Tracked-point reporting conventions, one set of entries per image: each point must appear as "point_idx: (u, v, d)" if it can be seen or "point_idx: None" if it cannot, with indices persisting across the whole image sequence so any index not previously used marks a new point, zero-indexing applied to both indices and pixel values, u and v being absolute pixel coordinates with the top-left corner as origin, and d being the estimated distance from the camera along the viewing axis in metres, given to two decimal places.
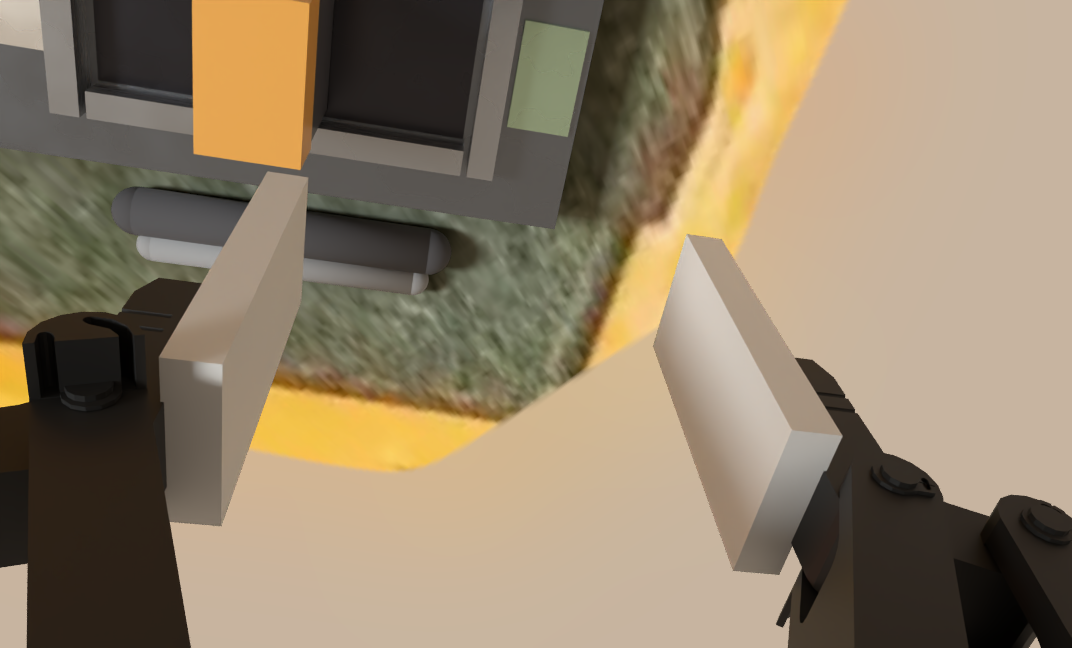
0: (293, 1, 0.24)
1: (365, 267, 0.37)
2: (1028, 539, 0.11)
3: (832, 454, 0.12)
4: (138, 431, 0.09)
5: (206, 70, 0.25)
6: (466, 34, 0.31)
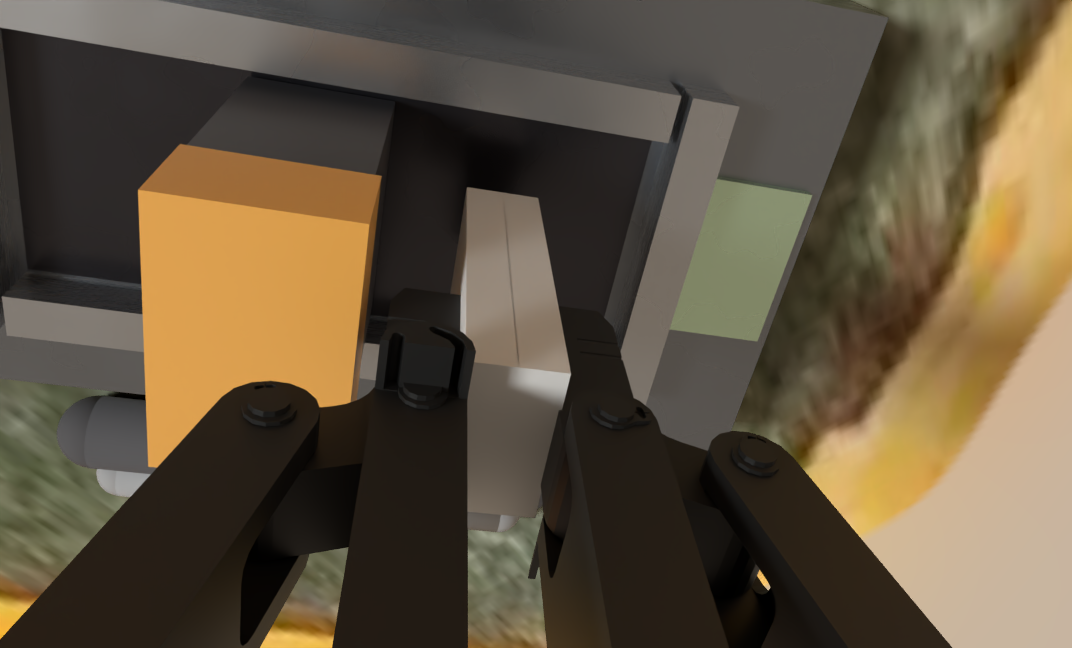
0: (338, 221, 0.12)
1: None
2: (742, 479, 0.11)
3: (565, 393, 0.12)
4: (454, 436, 0.10)
5: (170, 337, 0.13)
6: (616, 197, 0.19)
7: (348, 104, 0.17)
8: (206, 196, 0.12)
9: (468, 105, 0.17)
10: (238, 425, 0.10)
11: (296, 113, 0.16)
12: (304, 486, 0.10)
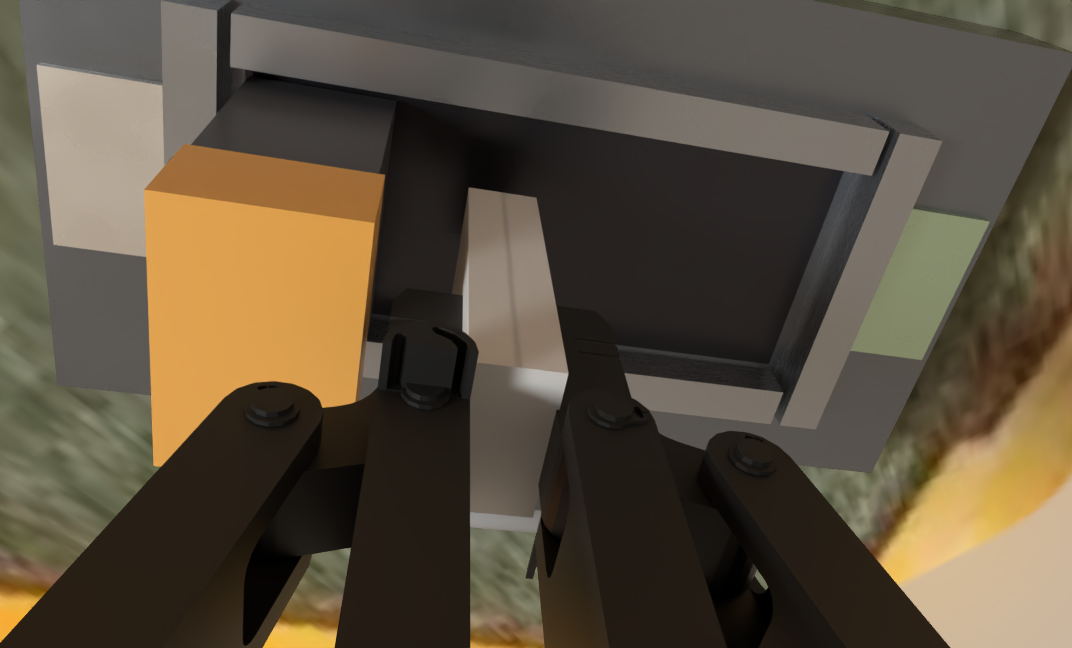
0: (343, 220, 0.12)
1: None
2: (740, 478, 0.11)
3: (562, 392, 0.12)
4: (457, 436, 0.10)
5: (175, 337, 0.13)
6: (803, 225, 0.20)
7: (349, 103, 0.17)
8: (211, 195, 0.12)
9: (689, 141, 0.18)
10: (241, 425, 0.10)
11: (298, 113, 0.16)
12: (307, 486, 0.10)
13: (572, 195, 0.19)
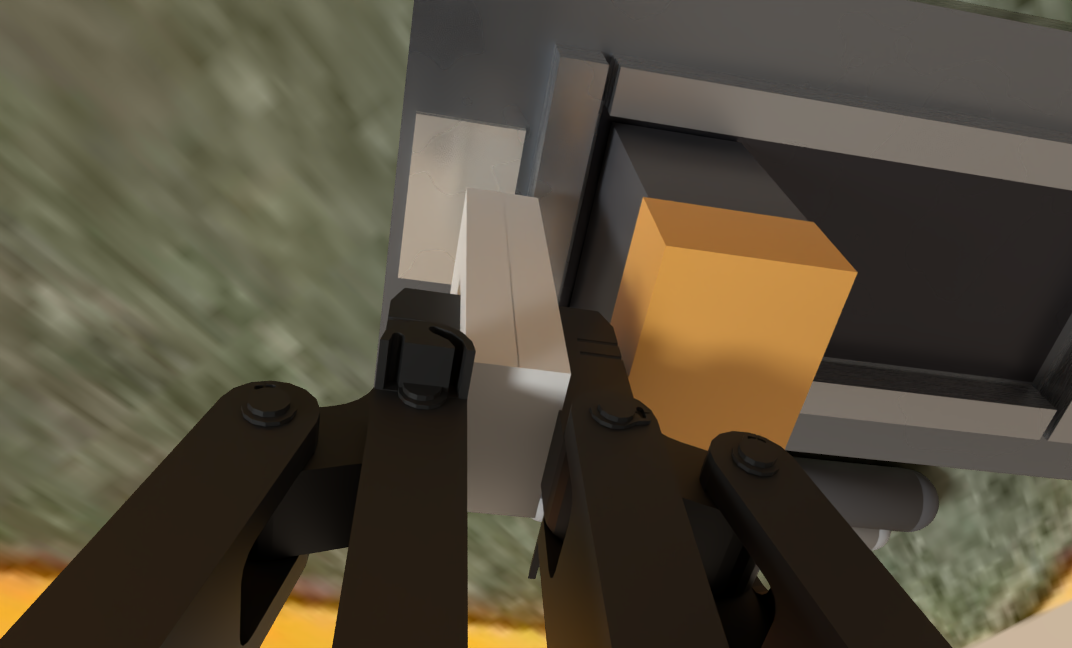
0: (831, 270, 0.13)
1: None
2: (743, 479, 0.11)
3: (565, 393, 0.12)
4: (454, 435, 0.10)
5: (652, 375, 0.14)
6: None
7: (712, 148, 0.18)
8: (718, 249, 0.13)
9: (1015, 177, 0.19)
10: (237, 424, 0.10)
11: (686, 159, 0.17)
12: (304, 486, 0.10)
13: (878, 226, 0.21)
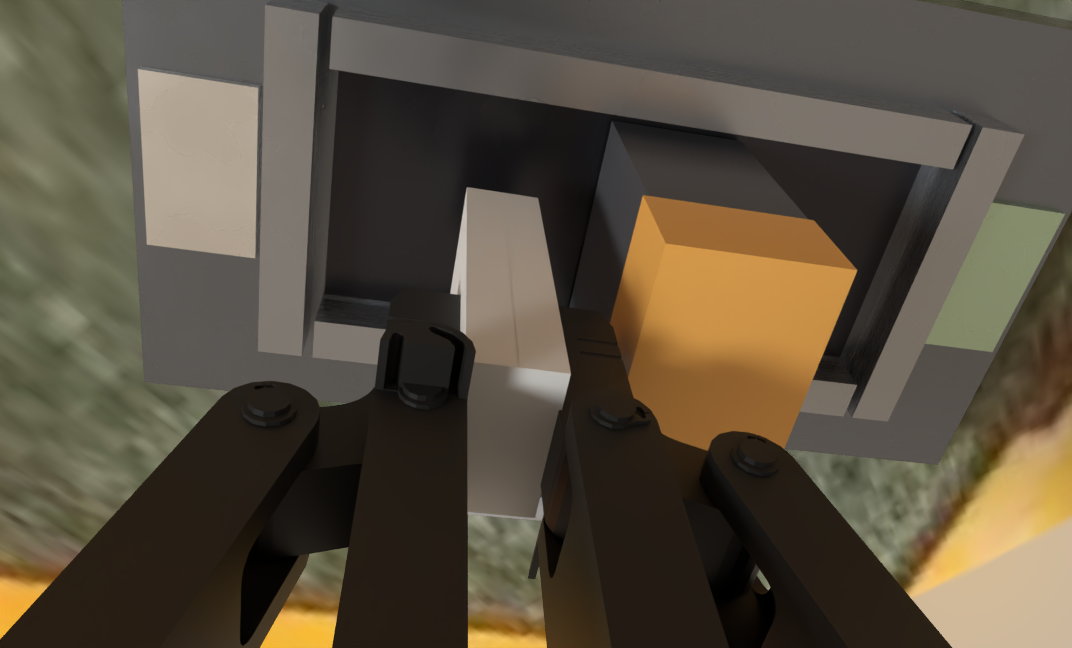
0: (831, 268, 0.13)
1: None
2: (742, 479, 0.11)
3: (565, 393, 0.12)
4: (454, 435, 0.10)
5: (652, 373, 0.14)
6: (879, 219, 0.20)
7: (712, 146, 0.18)
8: (717, 247, 0.13)
9: (774, 137, 0.18)
10: (238, 425, 0.10)
11: (686, 158, 0.17)
12: (304, 486, 0.10)
13: None
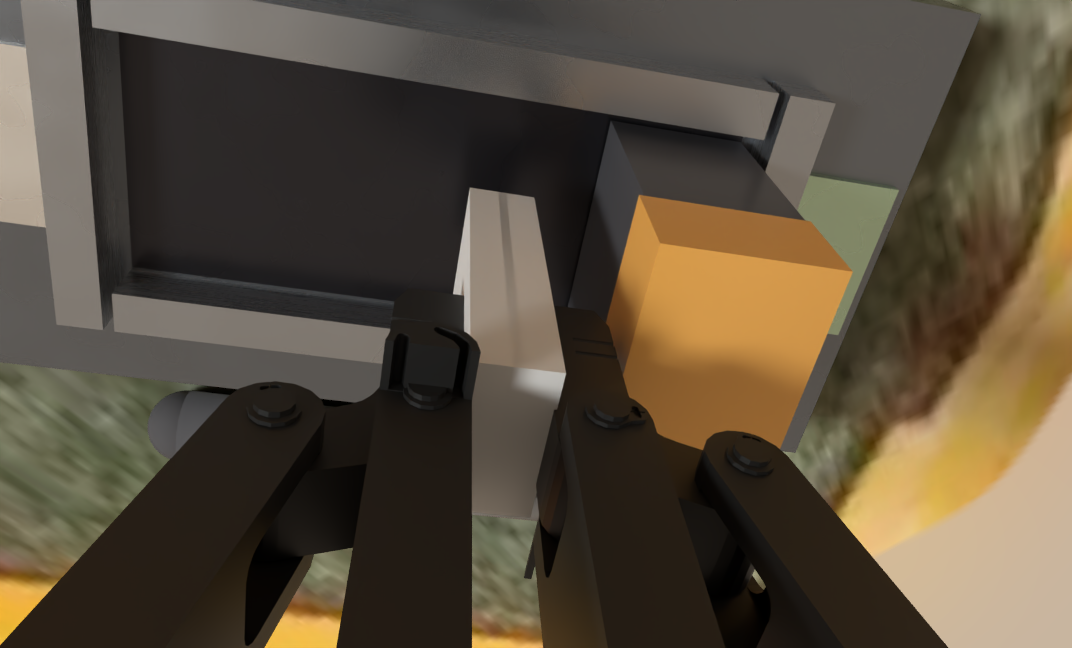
0: (827, 269, 0.13)
1: None
2: (737, 478, 0.11)
3: (560, 392, 0.12)
4: (459, 436, 0.10)
5: (646, 373, 0.14)
6: None
7: (711, 147, 0.18)
8: (713, 248, 0.13)
9: (571, 104, 0.17)
10: (242, 425, 0.10)
11: (685, 158, 0.17)
12: (309, 487, 0.10)
13: (464, 162, 0.19)
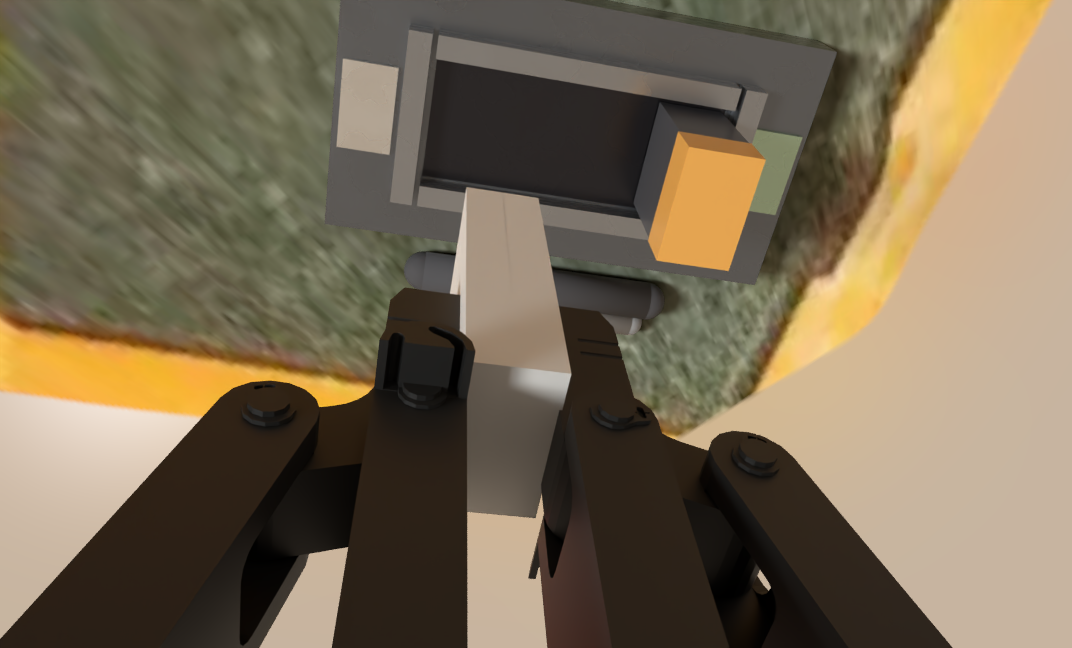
0: (755, 158, 0.34)
1: None
2: (743, 479, 0.11)
3: (565, 393, 0.12)
4: (454, 435, 0.10)
5: (682, 204, 0.34)
6: None
7: (707, 114, 0.38)
8: (709, 149, 0.33)
9: (645, 94, 0.37)
10: (237, 424, 0.10)
11: (696, 118, 0.37)
12: (303, 486, 0.10)
13: (590, 122, 0.39)
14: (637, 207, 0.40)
